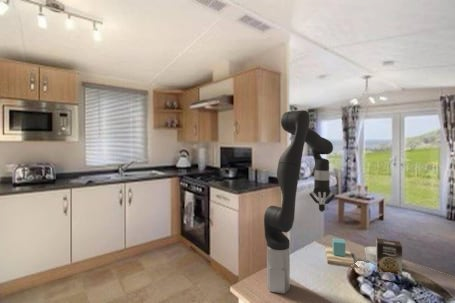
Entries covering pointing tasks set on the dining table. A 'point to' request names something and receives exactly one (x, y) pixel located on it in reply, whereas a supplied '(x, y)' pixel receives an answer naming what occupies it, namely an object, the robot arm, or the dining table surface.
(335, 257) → the post block
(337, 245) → the teal toy cube
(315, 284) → the dining table surface
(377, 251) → the coffee box
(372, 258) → the ramekin
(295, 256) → the dining table surface
